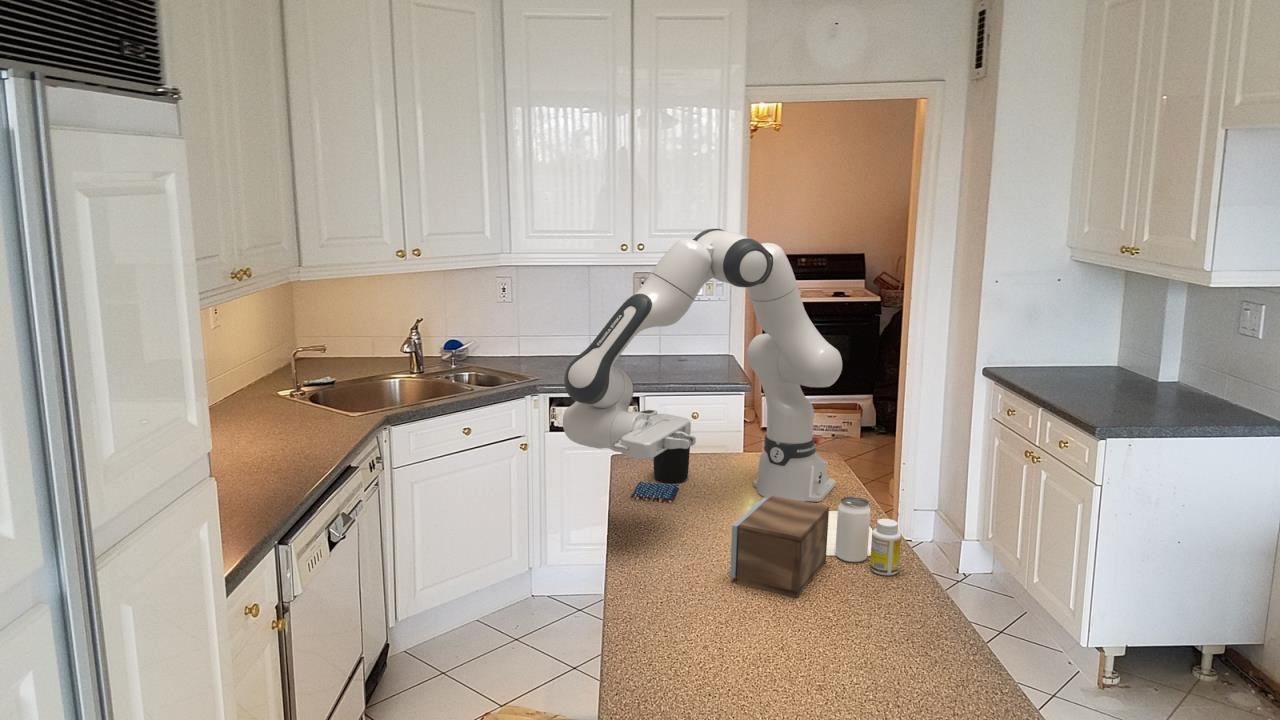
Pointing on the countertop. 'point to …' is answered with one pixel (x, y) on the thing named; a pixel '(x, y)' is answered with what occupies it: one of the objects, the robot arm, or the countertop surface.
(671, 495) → the woven mat
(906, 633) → the countertop surface
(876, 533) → the supplement bottle
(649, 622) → the countertop surface
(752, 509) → the flap
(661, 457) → the pen holder
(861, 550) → the can
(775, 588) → the crate
